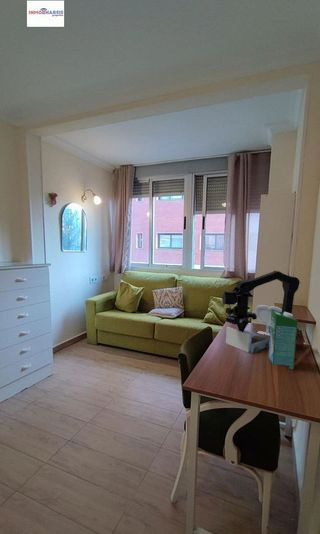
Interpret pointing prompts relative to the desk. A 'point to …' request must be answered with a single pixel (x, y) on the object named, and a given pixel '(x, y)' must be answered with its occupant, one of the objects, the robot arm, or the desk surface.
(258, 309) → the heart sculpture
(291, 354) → the milk carton
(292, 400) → the desk surface
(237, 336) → the tall thin white panel
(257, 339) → the brown cube
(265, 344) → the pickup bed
